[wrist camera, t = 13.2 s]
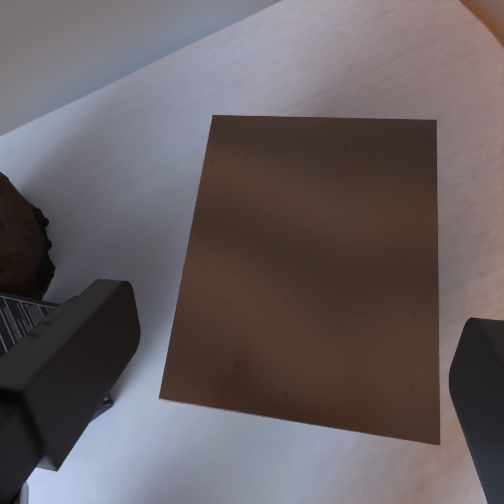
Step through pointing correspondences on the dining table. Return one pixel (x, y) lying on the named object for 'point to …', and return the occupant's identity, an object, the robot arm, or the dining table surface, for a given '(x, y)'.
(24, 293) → the owl
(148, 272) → the dining table surface
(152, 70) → the dining table surface
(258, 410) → the lid
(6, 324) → the small box
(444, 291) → the dining table surface
